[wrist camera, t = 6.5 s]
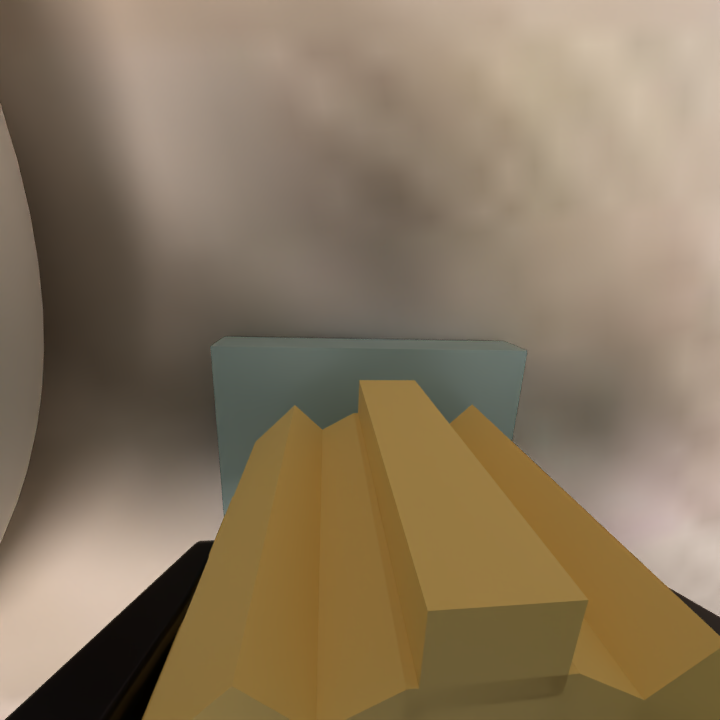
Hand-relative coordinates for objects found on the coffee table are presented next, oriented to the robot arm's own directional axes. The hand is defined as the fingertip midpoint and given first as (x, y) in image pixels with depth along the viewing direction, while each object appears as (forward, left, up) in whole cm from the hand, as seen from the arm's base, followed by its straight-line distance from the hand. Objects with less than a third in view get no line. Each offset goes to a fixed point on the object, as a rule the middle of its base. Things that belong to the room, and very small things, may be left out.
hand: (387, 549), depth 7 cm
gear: (0, 0, -1) cm, 1 cm away
